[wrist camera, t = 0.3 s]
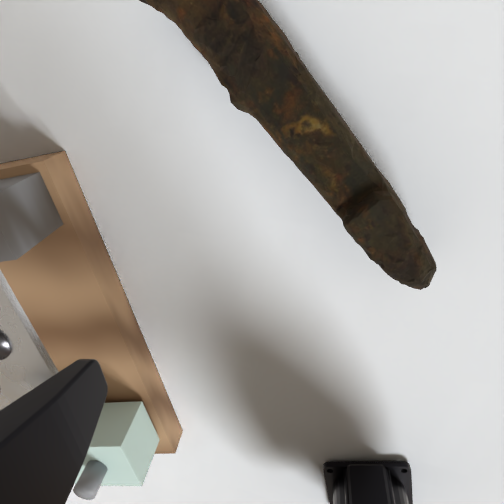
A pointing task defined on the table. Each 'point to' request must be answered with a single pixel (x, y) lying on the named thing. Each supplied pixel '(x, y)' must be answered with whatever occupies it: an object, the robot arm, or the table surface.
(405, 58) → the table surface
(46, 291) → the wood and metal assembly
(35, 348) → the bolt plate
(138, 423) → the sliding leg
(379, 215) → the dark brown rough bar
